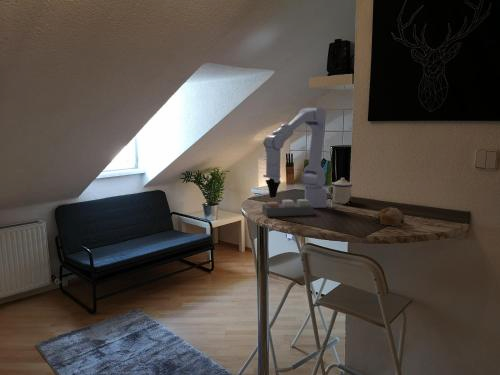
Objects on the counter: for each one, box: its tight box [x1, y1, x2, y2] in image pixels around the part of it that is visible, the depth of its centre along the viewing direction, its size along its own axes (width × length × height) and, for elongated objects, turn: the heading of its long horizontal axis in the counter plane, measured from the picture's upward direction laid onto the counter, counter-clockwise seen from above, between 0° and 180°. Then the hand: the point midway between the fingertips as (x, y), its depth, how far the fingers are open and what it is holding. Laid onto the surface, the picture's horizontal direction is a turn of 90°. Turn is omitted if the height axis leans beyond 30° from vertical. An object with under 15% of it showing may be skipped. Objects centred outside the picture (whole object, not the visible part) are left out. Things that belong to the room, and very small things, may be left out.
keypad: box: [261, 202, 315, 217], centre depth 172 cm, size 20×8×4 cm, turn 100°
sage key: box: [296, 198, 309, 206], centre depth 173 cm, size 4×4×4 cm
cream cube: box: [281, 199, 295, 207], centre depth 172 cm, size 4×4×4 cm
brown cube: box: [266, 201, 279, 207], centre depth 171 cm, size 4×4×4 cm
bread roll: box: [375, 206, 405, 227], centre depth 158 cm, size 10×10×8 cm
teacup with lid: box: [327, 177, 353, 205], centre depth 197 cm, size 12×9×12 cm
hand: (272, 197), depth 170 cm, fingers closed
